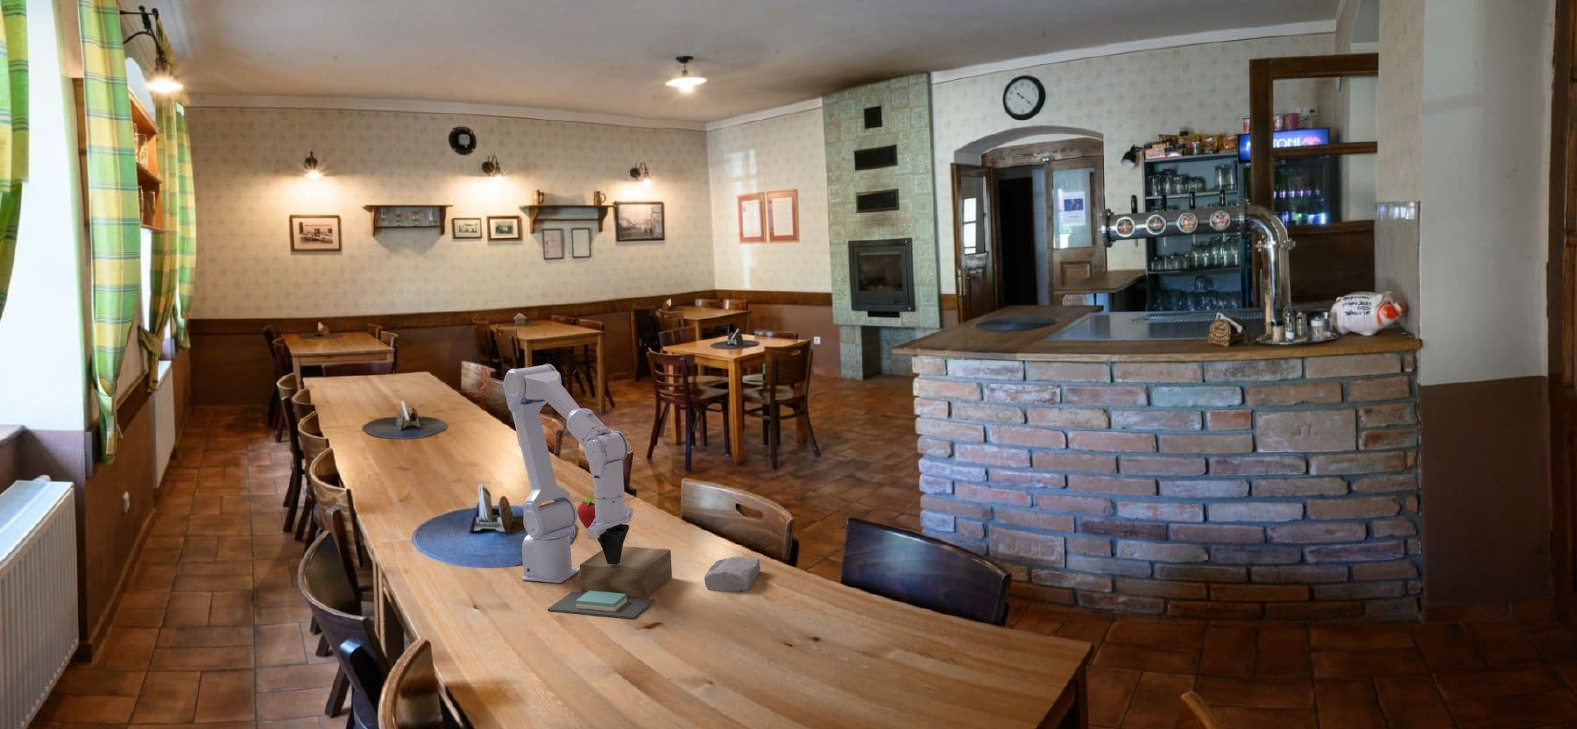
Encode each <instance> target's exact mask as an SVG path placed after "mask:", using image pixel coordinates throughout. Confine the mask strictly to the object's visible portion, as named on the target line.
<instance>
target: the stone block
mask: <svg viewBox="0 0 1577 729" xmlns="http://www.w3.org/2000/svg"><path fill="white" fill-rule="evenodd" d="M760 564H761V563H760V559H759V558H758V557H757V558H752V557H745V556H731V557H729V558H723V559H719V560H717V561H715V563H714V564H712V565H711V566H710V567H709V569H708V571H707V572H706V573H705V575H704V585H705V587H706V589H707V590H708V591H713V592H748V591H749V590H750V588H751V587H752V585H753V584H754V581H755V580H756V578H757V577H758V575H759V574H760V572H761V565H760Z"/></svg>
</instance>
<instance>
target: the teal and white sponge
mask: <svg viewBox="0 0 1577 729" xmlns="http://www.w3.org/2000/svg"><path fill="white" fill-rule="evenodd" d="M626 602H627V595H626V594H622V593H611V592H599V591H588V592H587V593H585V594H584V595H582V596H581V597H580V598H578V599H577V600H576V608H582V609H593V610H603V611H616V610H617V609H618V608H619V607H621V606H622V605H623V604H624V603H626Z"/></svg>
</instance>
